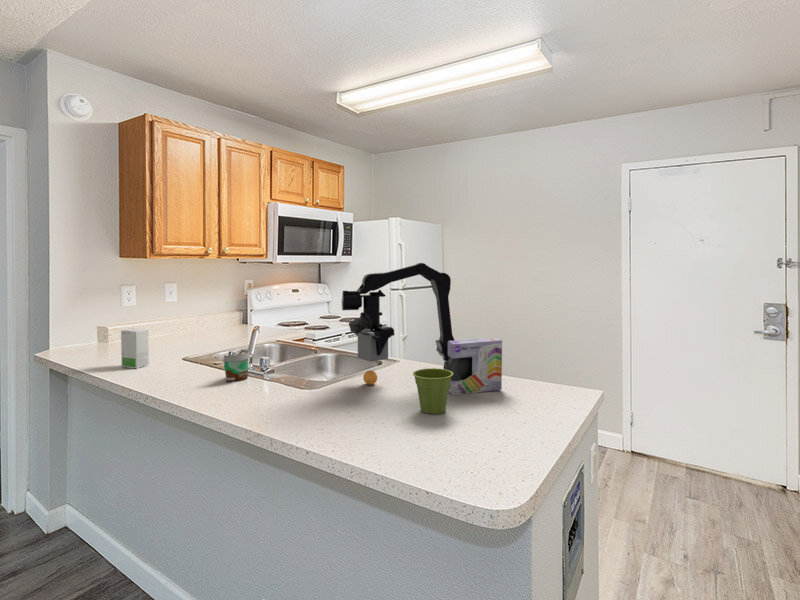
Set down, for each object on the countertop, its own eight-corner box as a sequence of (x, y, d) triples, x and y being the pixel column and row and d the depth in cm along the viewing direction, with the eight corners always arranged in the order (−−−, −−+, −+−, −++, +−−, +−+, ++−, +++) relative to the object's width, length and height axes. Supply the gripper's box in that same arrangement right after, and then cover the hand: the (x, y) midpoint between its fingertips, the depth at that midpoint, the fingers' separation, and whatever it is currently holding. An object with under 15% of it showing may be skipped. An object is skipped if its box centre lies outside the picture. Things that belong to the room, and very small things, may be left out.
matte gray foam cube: (388, 358, 158) (388, 333, 157) (370, 361, 153) (370, 336, 152) (375, 355, 164) (374, 331, 163) (357, 357, 159) (357, 333, 158)
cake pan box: (449, 396, 145) (450, 342, 144) (444, 391, 150) (444, 339, 148) (502, 391, 150) (503, 339, 149) (495, 387, 155) (496, 337, 154)
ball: (379, 385, 158) (380, 371, 158) (368, 386, 155) (369, 371, 155) (370, 382, 162) (372, 369, 162) (359, 383, 159) (361, 369, 159)
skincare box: (121, 367, 184) (119, 330, 182) (135, 364, 190) (133, 327, 189) (137, 369, 181) (135, 331, 180) (150, 365, 188) (148, 328, 186)
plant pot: (428, 401, 139) (428, 366, 138) (460, 409, 132) (461, 372, 131) (404, 411, 130) (404, 373, 129) (437, 420, 123) (438, 380, 122)
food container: (239, 384, 159) (238, 356, 158) (223, 383, 160) (223, 355, 159) (257, 375, 171) (256, 349, 170) (242, 374, 172) (241, 349, 172)
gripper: (337, 309, 158) (338, 352, 160) (368, 313, 144) (369, 361, 146) (363, 307, 166) (363, 348, 167) (395, 311, 151) (395, 356, 153)
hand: (371, 353), depth 158 cm, fingers closed on matte gray foam cube, 8 cm apart
